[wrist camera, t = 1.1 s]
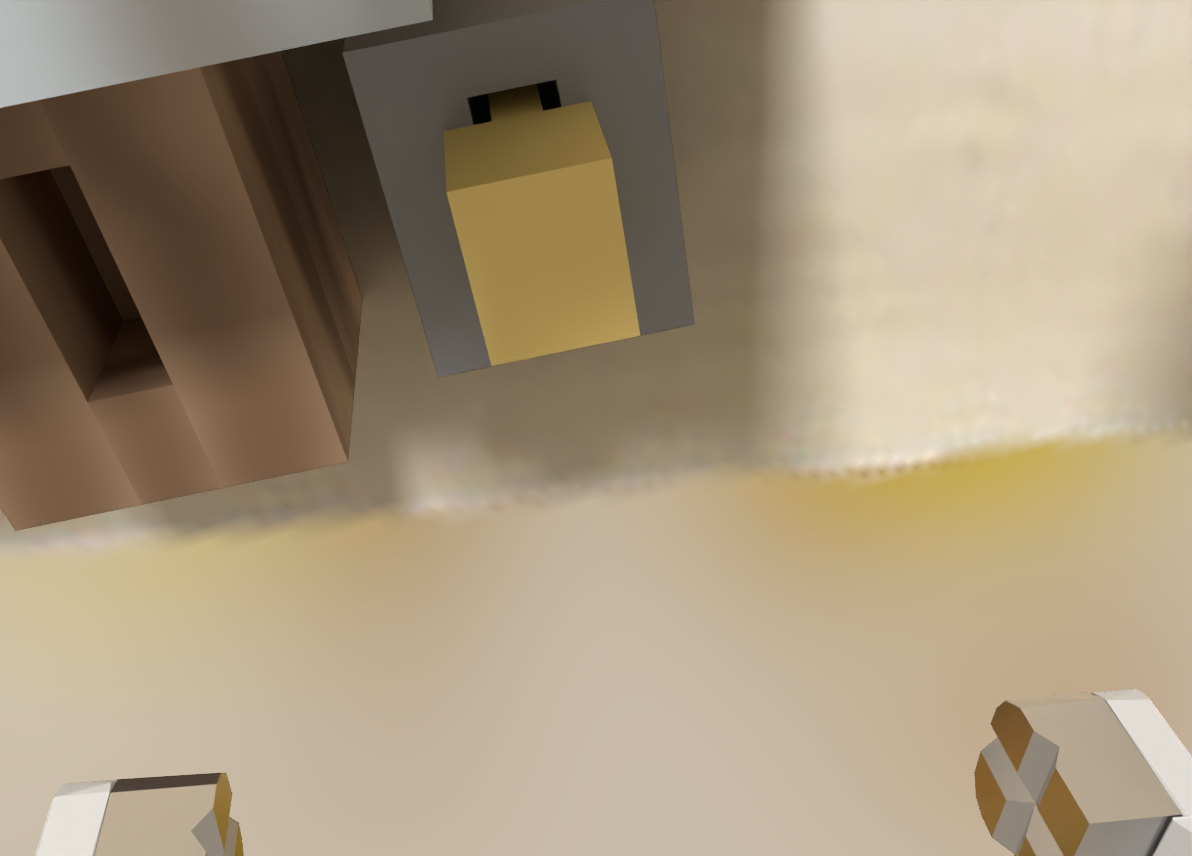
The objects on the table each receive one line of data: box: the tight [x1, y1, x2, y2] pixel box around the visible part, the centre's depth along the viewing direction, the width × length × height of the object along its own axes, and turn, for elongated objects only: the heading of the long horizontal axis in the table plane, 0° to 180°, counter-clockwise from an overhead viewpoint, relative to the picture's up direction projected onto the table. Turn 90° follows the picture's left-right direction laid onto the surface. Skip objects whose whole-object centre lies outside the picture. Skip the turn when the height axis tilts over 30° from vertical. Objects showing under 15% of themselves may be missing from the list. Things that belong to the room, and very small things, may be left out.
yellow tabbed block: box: [444, 84, 640, 366], centre depth 31 cm, size 4×5×8 cm
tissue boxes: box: [0, 0, 433, 531], centre depth 29 cm, size 22×16×18 cm
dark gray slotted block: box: [342, 0, 694, 377], centre depth 34 cm, size 8×10×8 cm
